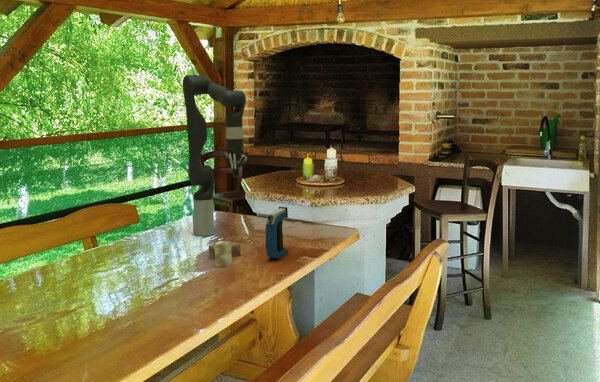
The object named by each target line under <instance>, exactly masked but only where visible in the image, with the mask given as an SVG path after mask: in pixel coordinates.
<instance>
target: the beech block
mask: <svg viewBox="0 0 600 382" xmlns="http://www.w3.org/2000/svg"><path fill="white" fill-rule="evenodd" d="M231 243H232V241H227V240H225V241H224V240H223V241H222V240H219V241H217V242H216V243H214V245H215V260H214V262H215V263H214V264H215V267H222V266H223V267H224V268H228V267H229V266H230V265H231V263H233V257H232V254H231Z"/></svg>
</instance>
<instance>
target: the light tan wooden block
mask: <svg viewBox="0 0 600 382" xmlns="http://www.w3.org/2000/svg"><path fill="white" fill-rule="evenodd" d="M231 254H232V258H234V257H241V244H239V243H237V242H236V241H235V242H234V241H233V242H231ZM208 255H209V256H208V257H209V258H210V259H212V260H213V261H215V244H214V245H208Z"/></svg>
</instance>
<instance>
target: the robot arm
mask: <svg viewBox="0 0 600 382" xmlns="http://www.w3.org/2000/svg"><path fill="white" fill-rule="evenodd" d="M182 93H183V98H184V106H185V115H186V116H185V117H186V132H187V134H186V135H187V145H188V146H187V148H188V169H187V171H188V180H189V183H190V184H191V185H192V186H195V187H197V186H200V187H199V189H198V190H196V191H195V192H193V194H192V195H193V197H192V198H193V214H192V234H193V235H194V236H196V237H208V236H213V235H214V234H215V221H214V218H215V217H214V193H215V172H214V170H213V167H212V166H211V165H209V164H204V165H201V163H200V162H201V161H200V159H201V154H202V151H203V149H204V147H205V144H206V143H207V140H208V125H207V121H206V120H205V117H204V116H203V114H202V113H201V111H200V109H199V108H198V106H197V104H196V98H195V96H201V95H208V96H209V98H210V99H212V100H214V101H215V102H217V103H220V104H221V106H223V107H224V108H234V109H233V111H231V112H229V113H227V114H226V115H225V148H226V154H224V155H222V158H223V160H224V162H225V163H226V165H227V167H229V168H231V174H232V177H233V178H239V176H240V169H241V168H243V167H244V165H245V164H246V162H247V160H248V159H249V157H248V156H246V155H245V151H244V147H245V146H244V144H245V143H244V142H245V141H244V129H243V116H244V111H245V107H246V102H247V98H246V94H245V93H244V91H242V90H230V89H229V88H228V87H226V86H223V85H220V84H217V83H215V82H214V81H213V80H211V79H210V78H208V77H207V76H205V75H202V74H187V75H185V76H183V78H182Z"/></svg>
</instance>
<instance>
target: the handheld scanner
mask: <svg viewBox="0 0 600 382" xmlns="http://www.w3.org/2000/svg"><path fill="white" fill-rule="evenodd" d="M288 211H289V210H288V207H285V206H279V207H278V208H277V209H276V210H274V211H272V212H270V213H268V214H267V220H266V223H265V251H266V256H267V257H268V258H270V259H277V260H280V259H282V258H283V257H284V256H285V255H287V253H288V249H287V248H286V247H284V235H283V234H284V233H283V221H284V219H287V218H288V217H289V214H288Z"/></svg>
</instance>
